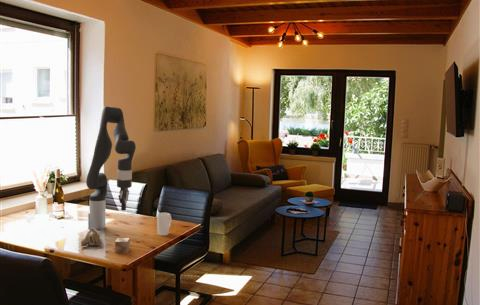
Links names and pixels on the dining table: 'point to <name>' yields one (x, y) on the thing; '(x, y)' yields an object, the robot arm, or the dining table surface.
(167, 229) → the mug
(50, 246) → the dining table surface
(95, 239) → the ceramic sculpture
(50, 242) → the dining table surface
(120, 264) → the dining table surface
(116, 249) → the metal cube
